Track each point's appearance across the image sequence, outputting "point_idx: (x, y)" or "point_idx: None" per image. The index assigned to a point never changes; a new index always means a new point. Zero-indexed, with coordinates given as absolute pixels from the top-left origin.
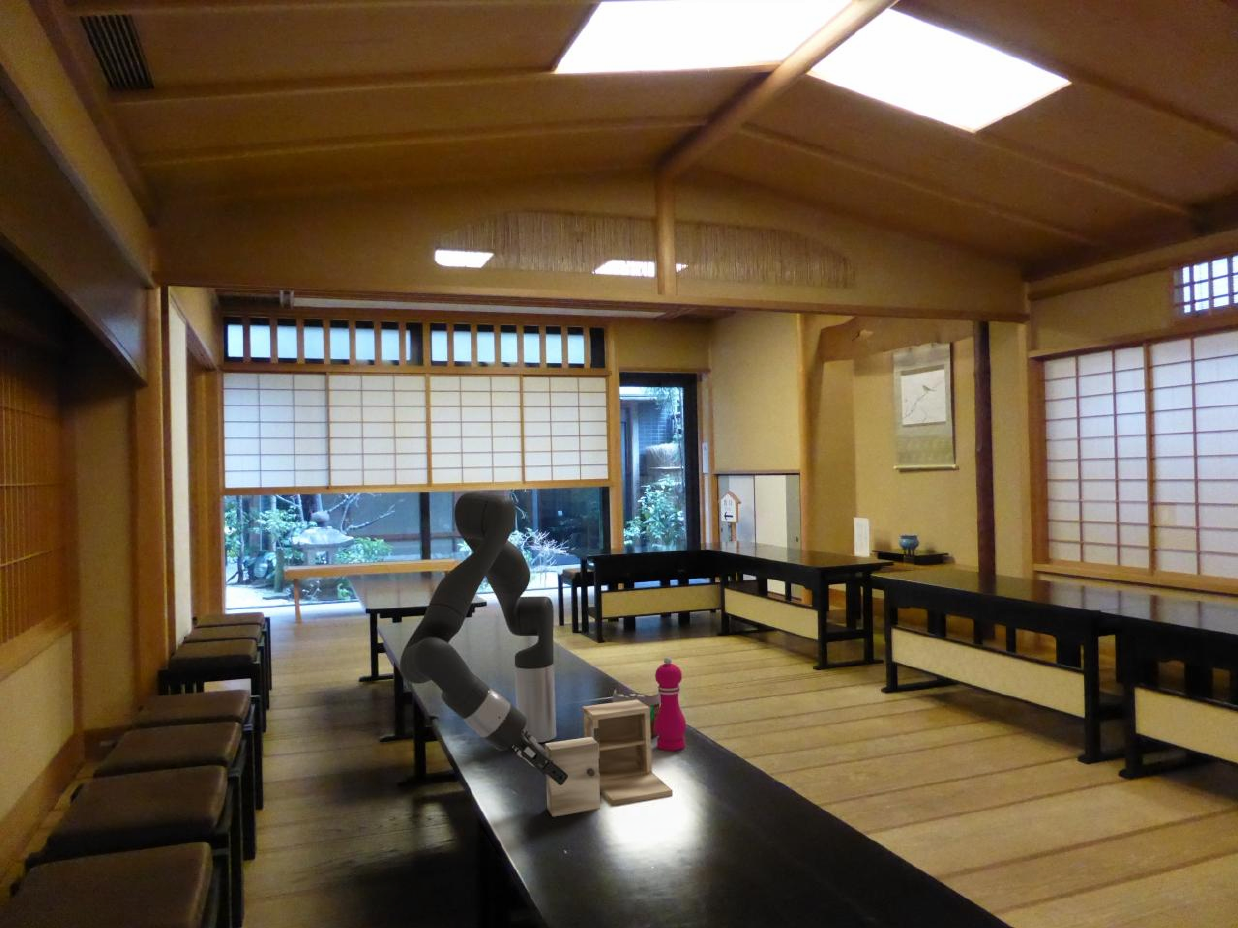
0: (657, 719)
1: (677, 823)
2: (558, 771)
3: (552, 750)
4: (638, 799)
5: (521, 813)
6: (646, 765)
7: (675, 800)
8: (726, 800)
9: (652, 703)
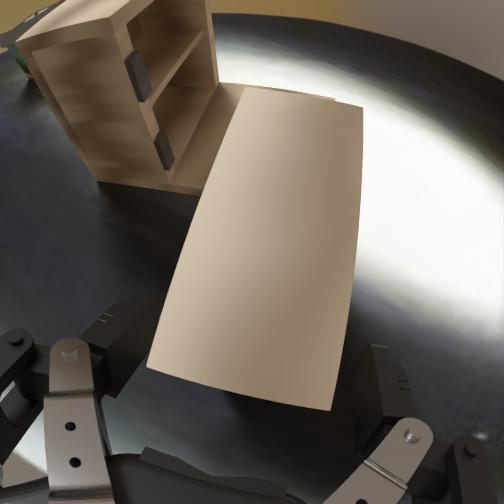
0: None
1: (460, 175)
2: (410, 400)
3: (333, 395)
4: None
5: (201, 456)
6: (210, 76)
7: None
8: (394, 78)
9: None
